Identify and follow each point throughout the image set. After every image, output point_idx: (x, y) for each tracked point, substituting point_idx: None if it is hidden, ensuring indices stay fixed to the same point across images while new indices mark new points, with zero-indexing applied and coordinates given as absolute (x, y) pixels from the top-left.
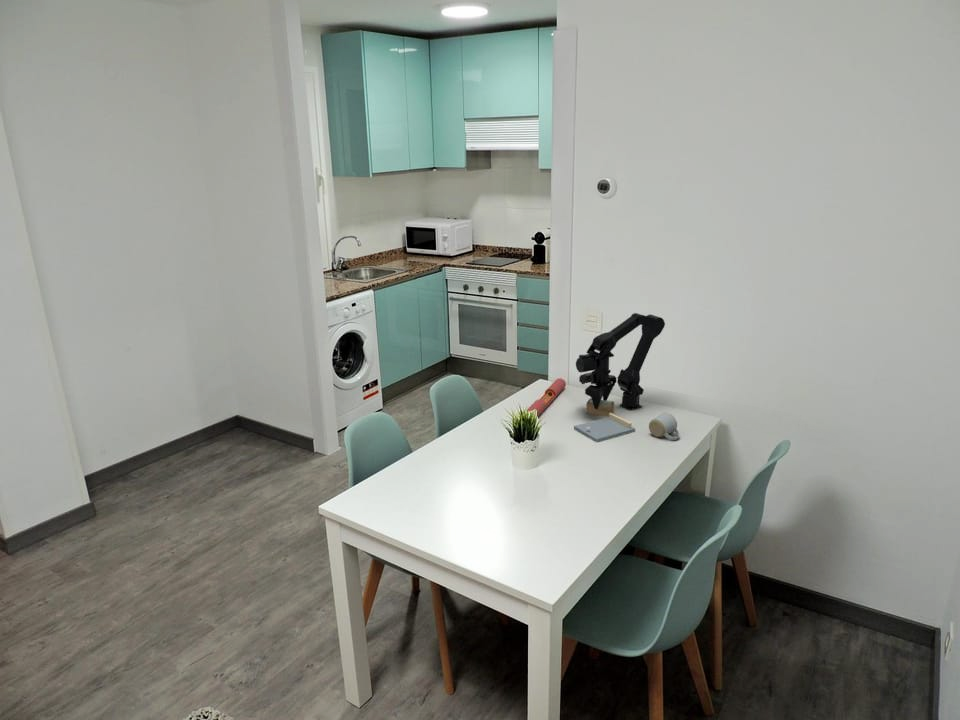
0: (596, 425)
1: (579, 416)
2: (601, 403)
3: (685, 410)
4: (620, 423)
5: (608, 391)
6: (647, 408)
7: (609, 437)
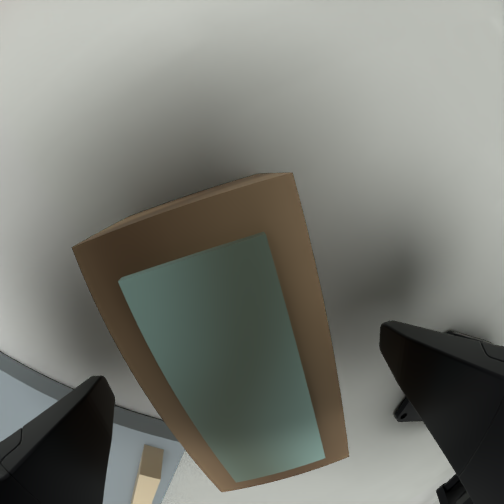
0: (8, 417)
1: (42, 204)
2: (200, 431)
3: (437, 480)
4: (131, 498)
5: (456, 447)
6: None
7: None
